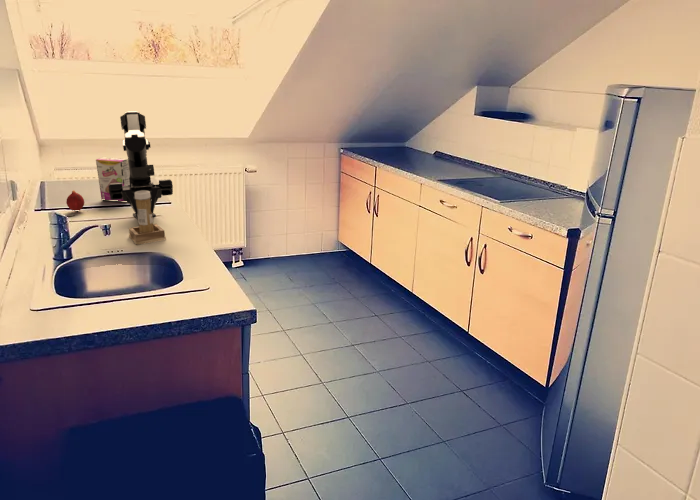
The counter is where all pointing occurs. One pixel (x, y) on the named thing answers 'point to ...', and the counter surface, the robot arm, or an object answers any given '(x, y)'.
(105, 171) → the candy bar box
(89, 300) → the counter surface
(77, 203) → the onion
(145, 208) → the sprinkles bottle
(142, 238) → the holder
